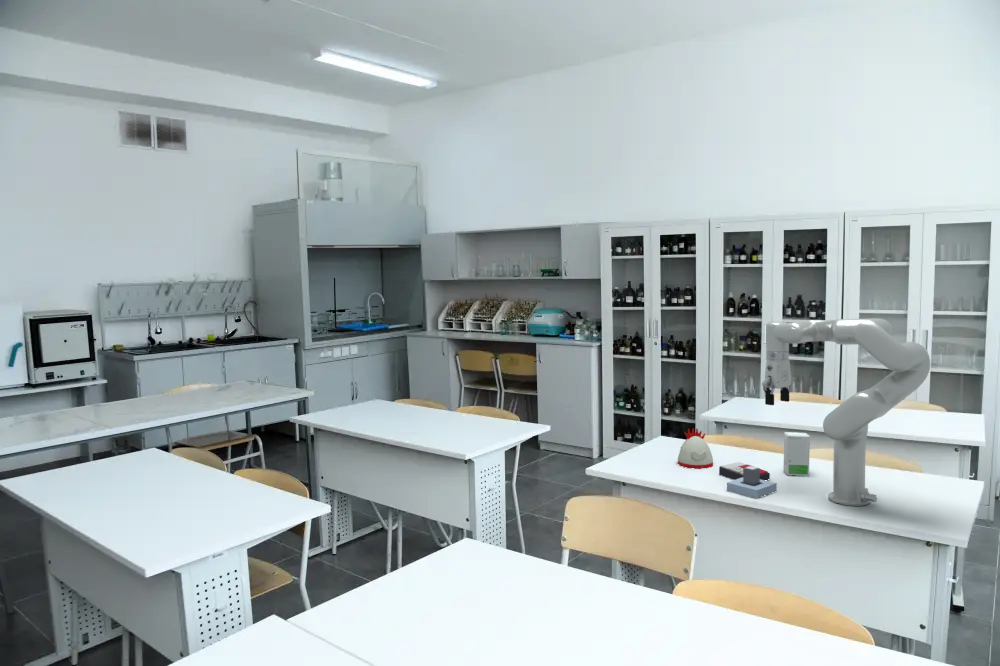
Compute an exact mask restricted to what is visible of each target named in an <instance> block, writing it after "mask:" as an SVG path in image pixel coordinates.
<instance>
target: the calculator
mask: <svg viewBox="0 0 1000 666" xmlns="http://www.w3.org/2000/svg"><path fill="white" fill-rule="evenodd" d="M748 466H752V467H755V466H753V465H751V464H746V463H743V462H741V461H737V462H733V463H728V464H723V465H720V466H719V467H718V468H719V469H718V475H719V476H721V475H722V476H721V477H724V476H725V477H724V478H729V479H731V480H736V479H739V478H742V477H743V468H745V467H748ZM770 475H771V473H770V472H768V471H767V470H765V469H761V468H760V479H761V480H767V481H769V480H770V479H771V477H770ZM768 479H769V480H768Z"/></svg>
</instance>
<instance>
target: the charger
mask: <svg viewBox="0 0 1000 666" xmlns="http://www.w3.org/2000/svg"><path fill="white" fill-rule="evenodd" d="M752 466H753V465H751V466H748V467H745V468H743V484H747V485H751V486H757V485H760V469H761V468H760V467H757V466H754V467H752Z"/></svg>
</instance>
